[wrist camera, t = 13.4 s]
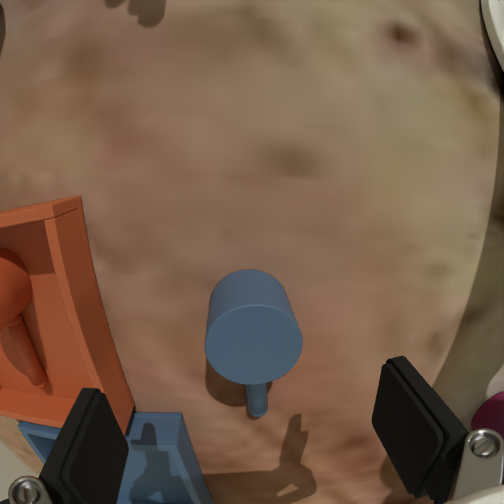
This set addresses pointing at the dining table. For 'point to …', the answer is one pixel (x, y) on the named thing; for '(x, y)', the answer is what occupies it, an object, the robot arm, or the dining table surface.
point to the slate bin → (145, 459)
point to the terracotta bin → (58, 318)
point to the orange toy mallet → (18, 313)
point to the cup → (491, 415)
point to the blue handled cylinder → (252, 333)
